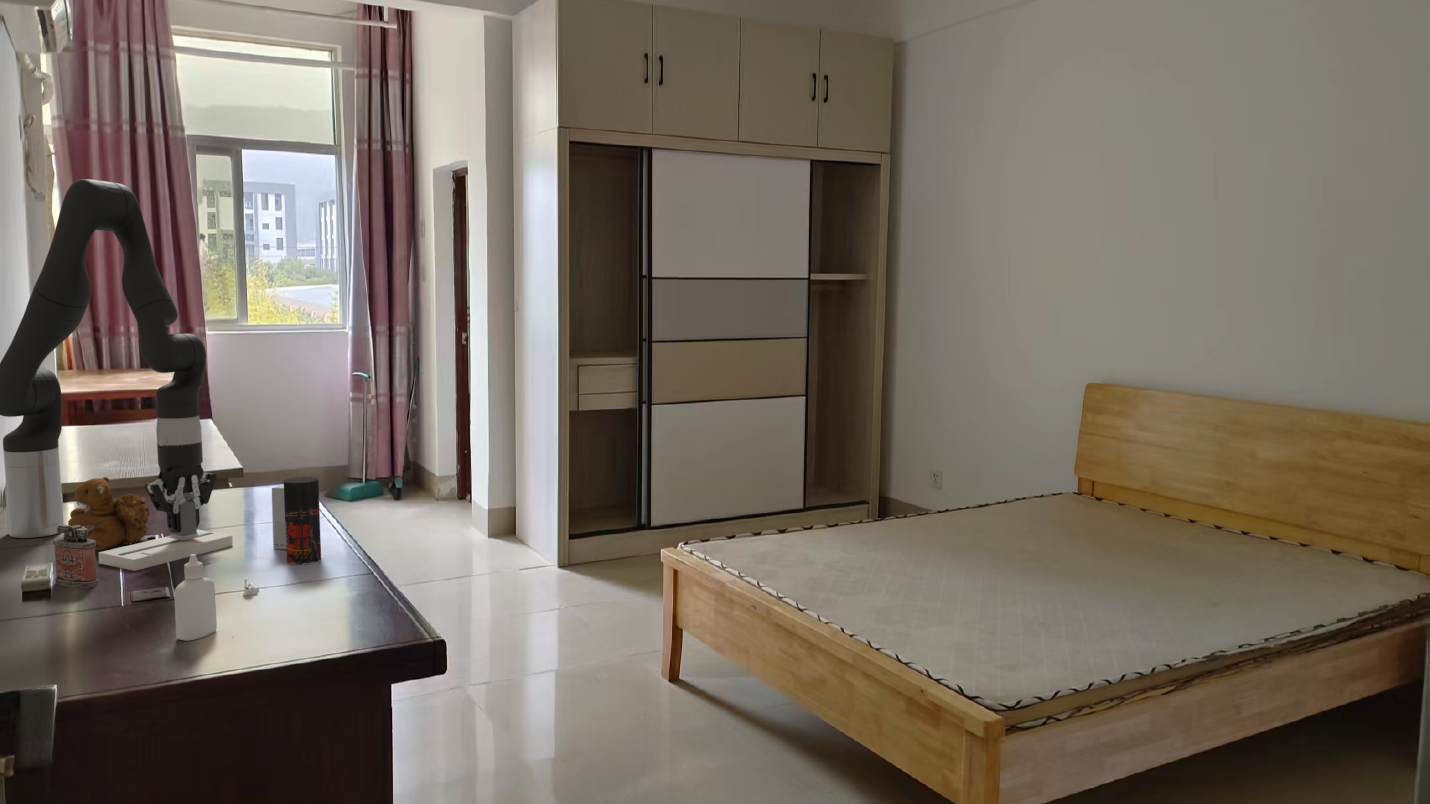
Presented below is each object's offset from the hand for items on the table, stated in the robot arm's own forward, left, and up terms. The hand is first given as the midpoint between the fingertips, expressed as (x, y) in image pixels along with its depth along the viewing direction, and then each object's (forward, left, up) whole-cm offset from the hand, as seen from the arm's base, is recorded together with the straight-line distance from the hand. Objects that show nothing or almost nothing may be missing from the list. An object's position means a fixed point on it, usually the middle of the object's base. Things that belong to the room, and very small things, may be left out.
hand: (184, 529), depth 196 cm
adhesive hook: (+35, -12, -5) cm, 37 cm away
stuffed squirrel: (-16, -4, -4) cm, 17 cm away
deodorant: (+25, +6, -4) cm, 26 cm away
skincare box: (+15, +12, -4) cm, 20 cm away
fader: (0, 0, -2) cm, 2 cm away
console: (0, -3, -4) cm, 5 cm away
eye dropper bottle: (+44, -30, -4) cm, 53 cm away
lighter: (+4, -23, -4) cm, 23 cm away
